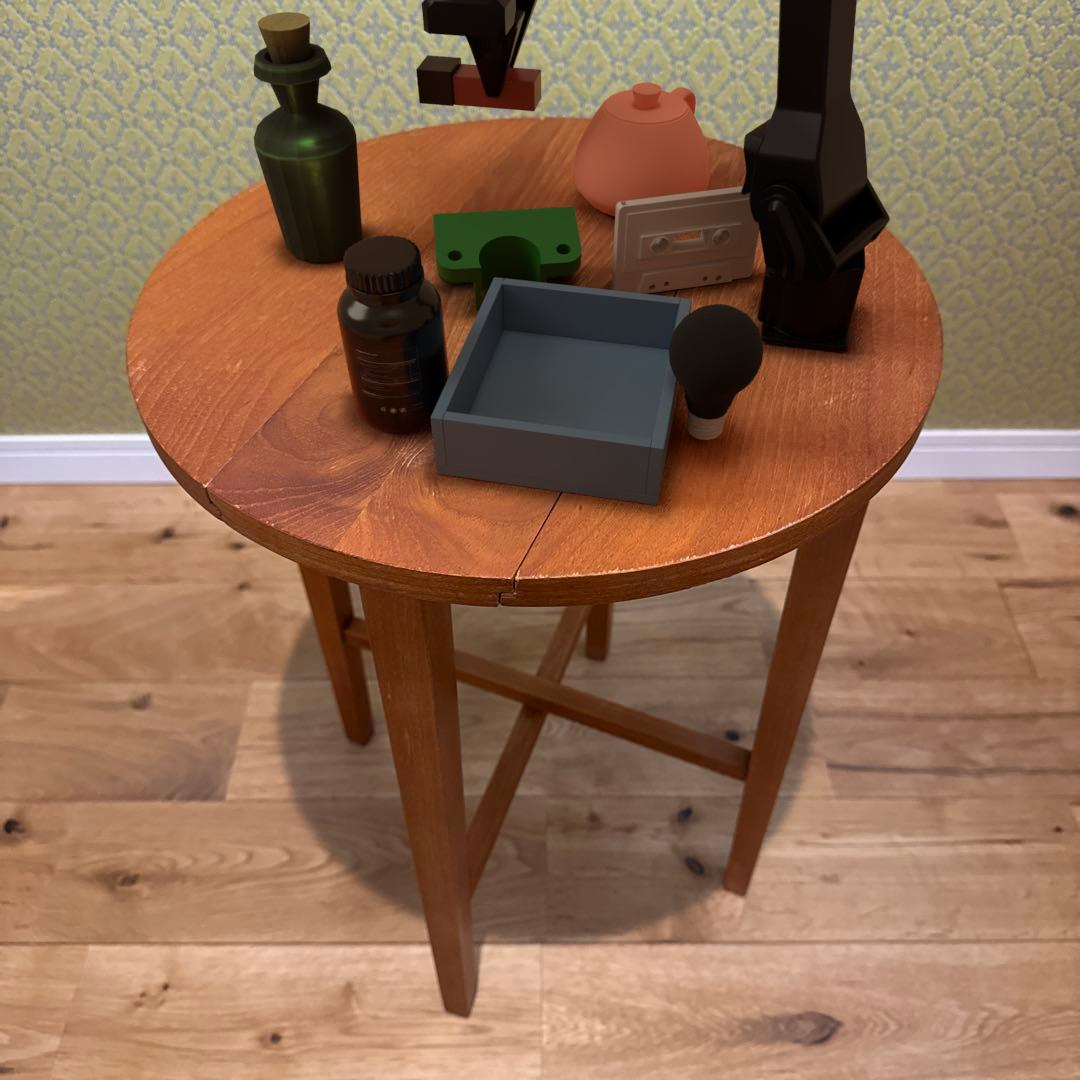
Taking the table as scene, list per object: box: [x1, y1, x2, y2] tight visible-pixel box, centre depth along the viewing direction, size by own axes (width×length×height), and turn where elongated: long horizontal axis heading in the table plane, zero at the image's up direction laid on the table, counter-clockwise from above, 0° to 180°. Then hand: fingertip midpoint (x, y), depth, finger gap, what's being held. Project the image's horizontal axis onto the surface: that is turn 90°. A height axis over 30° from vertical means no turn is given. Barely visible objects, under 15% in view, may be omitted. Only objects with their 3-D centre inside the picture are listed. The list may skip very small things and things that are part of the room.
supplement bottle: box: [336, 234, 450, 434], centre depth 64 cm, size 7×7×12 cm
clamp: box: [432, 205, 583, 311], centre depth 77 cm, size 12×6×9 cm, turn 90°
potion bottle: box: [253, 11, 363, 264], centre depth 77 cm, size 8×8×18 cm
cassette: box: [610, 185, 760, 294], centre depth 77 cm, size 12×2×8 cm, turn 104°
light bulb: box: [669, 303, 764, 441], centre depth 63 cm, size 6×6×10 cm
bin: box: [430, 277, 693, 506], centre depth 67 cm, size 15×17×5 cm
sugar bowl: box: [572, 81, 711, 217], centre depth 86 cm, size 12×14×10 cm
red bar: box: [415, 54, 542, 112], centre depth 82 cm, size 10×3×3 cm, turn 78°
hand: (497, 89), depth 82 cm, fingers closed on red bar, 3 cm apart
